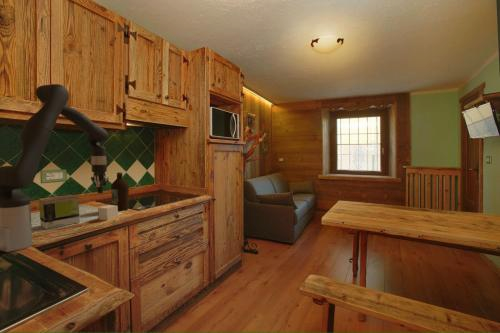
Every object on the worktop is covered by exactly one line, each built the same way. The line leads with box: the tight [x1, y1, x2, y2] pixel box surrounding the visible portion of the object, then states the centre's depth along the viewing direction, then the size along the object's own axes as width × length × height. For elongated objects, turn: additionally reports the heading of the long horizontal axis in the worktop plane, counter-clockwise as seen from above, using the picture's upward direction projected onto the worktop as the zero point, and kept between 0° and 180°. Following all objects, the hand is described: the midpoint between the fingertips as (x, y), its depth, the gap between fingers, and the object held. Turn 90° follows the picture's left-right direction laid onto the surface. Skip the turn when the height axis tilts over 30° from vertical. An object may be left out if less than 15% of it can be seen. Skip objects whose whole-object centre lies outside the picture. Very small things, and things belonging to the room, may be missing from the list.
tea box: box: [38, 194, 81, 230], centre depth 129 cm, size 15×10×15 cm, turn 141°
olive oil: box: [110, 171, 130, 212], centre depth 161 cm, size 11×11×25 cm
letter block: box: [97, 204, 119, 221], centre depth 141 cm, size 7×7×7 cm
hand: (100, 193), depth 143 cm, fingers closed
